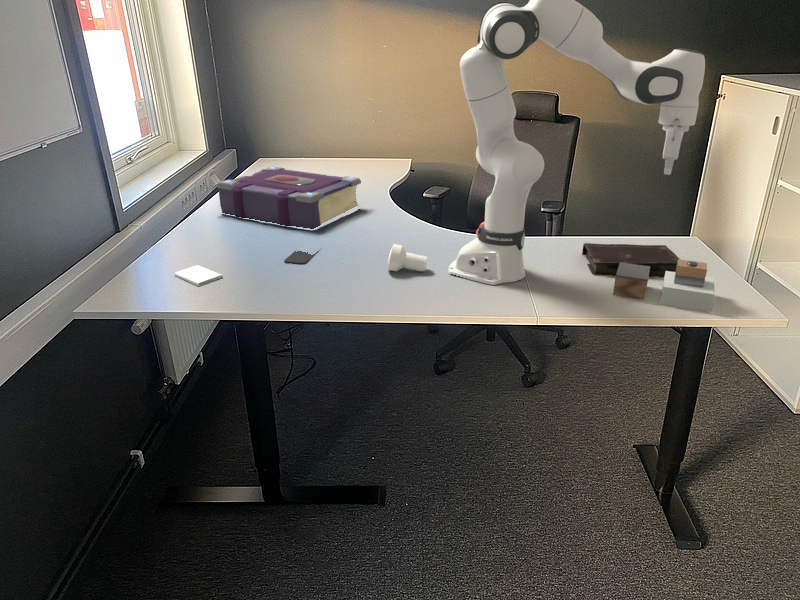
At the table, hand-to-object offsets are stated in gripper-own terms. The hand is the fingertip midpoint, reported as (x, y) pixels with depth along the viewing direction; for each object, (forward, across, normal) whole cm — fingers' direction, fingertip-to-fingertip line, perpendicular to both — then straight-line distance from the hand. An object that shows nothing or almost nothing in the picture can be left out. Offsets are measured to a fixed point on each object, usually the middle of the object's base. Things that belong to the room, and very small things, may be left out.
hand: (668, 170), depth 162 cm
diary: (+32, +8, +6) cm, 33 cm away
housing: (+26, -12, -10) cm, 30 cm away
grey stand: (+31, -12, -10) cm, 35 cm away
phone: (+32, -24, +102) cm, 109 cm away
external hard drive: (+32, -51, +121) cm, 135 cm away
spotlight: (+31, -23, +67) cm, 77 cm away
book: (+32, +15, +132) cm, 137 cm away
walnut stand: (+31, -12, +4) cm, 34 cm away
